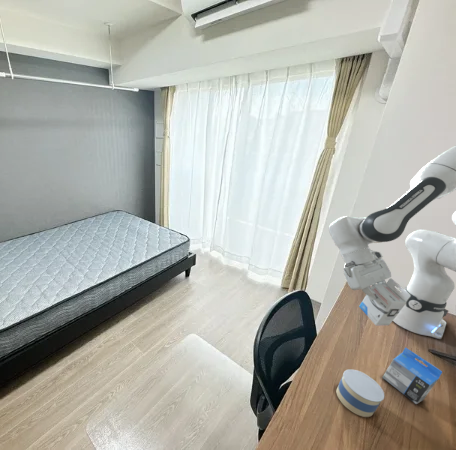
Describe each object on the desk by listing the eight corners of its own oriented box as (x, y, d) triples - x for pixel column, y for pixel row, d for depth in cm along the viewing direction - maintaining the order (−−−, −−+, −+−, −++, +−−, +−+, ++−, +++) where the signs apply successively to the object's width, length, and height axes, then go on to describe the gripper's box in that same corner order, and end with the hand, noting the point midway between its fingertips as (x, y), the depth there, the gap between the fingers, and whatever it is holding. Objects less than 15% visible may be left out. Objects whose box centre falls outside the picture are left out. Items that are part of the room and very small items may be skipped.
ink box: (358, 306, 91) (375, 276, 84) (371, 306, 91) (390, 276, 84) (375, 326, 84) (396, 295, 76) (389, 326, 84) (412, 295, 76)
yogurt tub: (346, 380, 77) (354, 364, 74) (381, 409, 69) (391, 393, 67) (328, 392, 73) (336, 376, 71) (363, 423, 66) (373, 407, 63)
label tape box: (381, 377, 78) (397, 349, 74) (389, 373, 80) (405, 346, 75) (415, 405, 71) (436, 376, 66) (423, 400, 72) (444, 371, 67)
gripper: (351, 262, 82) (374, 303, 78) (383, 251, 91) (405, 288, 86) (333, 266, 88) (354, 305, 83) (365, 256, 96) (385, 291, 92)
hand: (380, 296), depth 85 cm, fingers closed on ink box, 6 cm apart
